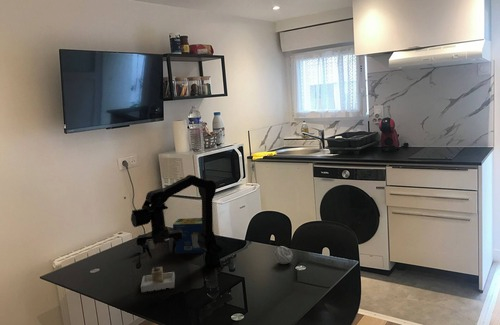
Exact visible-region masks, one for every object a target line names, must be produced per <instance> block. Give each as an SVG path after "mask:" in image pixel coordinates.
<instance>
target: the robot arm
mask: <svg viewBox="0 0 500 325" xmlns="http://www.w3.org/2000/svg"><path fill="white" fill-rule="evenodd" d="M191 186H193V187H196V188H197V189H198V194H199V196H200V198H201V218H202V232H201V234H198V242H197V243H199V246H200V247H201V248H202V249H203V251H205V253H204V265H205V266H206V268H207V269H209V268H217V267H220V266H222V263H221V257H220V254H221V253H222V250H223V247H221V246H220V245H218V244H217V239H216V235H215V233H214V230H213V227H214V226H213V224H214V222H213V217H214V216H213V199H214V197H215V195H216V191H217V184H216V183H215V181H214V180H210V179H205V178H204V179H203V178H200V177H198V176H196V175H193V174H188V175H186V176H184V177H183V178H181V179H179V180H177V181H175V182H173V183H171V184H169V185H167V186H166V187H162V188H157V189H154V190H150V191H148V192H147V193H146V195H145V200H144V202H143V204H142V206H141V208H139V209H132V210H131V216H130V220H131V225H132V227H134V228H137V227H140V226H144V225H148V224H149V223H150V225H151V226H150V227H151V232H150V234H152V236H147V233H144V234H139V235H138V236H137V238H136V245H137V246H138V245H140V246H141V247H144V248H145V249H146V250H147V254H148V255H149V257H150V259H153V254H152V249H150V245H149V241H152V240H153V243H154V244H163V243H165V242H166V240H168V239H171V238H172V256H174V255H175V253H176V250H175V247H176V243H177V242H178V241H180V239H183V235H182V230H181V229H179V230H173V229H172V232H170V231H169V229H167V227H166V221H165V213H164V210H167V209H169V207H168V206H166V205H165V203H166V202H167V201H168V200H169V198H171V197H172V196H174V195H176V194H177V193H181V191H184V190H185V189H187V188H189V187H191Z"/></svg>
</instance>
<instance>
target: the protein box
mask: <svg viewBox="0 0 500 325" xmlns="http://www.w3.org/2000/svg"><path fill="white" fill-rule="evenodd" d="M179 229H181V230H182V235H183V239H180V241H178V242H177V243H176V247H175V254H176V255H177V254H182V255H183V254H205V251H203V249H202V248H201V247H200V246H199V243H197V242H198V234H201V232H202V217H190V218H178V219H177V220H176V221H175V222H174V223H173V224H172V231H173V230H179Z"/></svg>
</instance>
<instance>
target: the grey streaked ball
mask: <svg viewBox="0 0 500 325" xmlns="http://www.w3.org/2000/svg"><path fill="white" fill-rule="evenodd" d="M293 255H294V254H293V252H292V250H291V249H290V248H288V247H286V246H282V245H280V246H279V247H277V248H276V249H275V252H274V257H275V259H276V261H277V262H278V264H282V265H286V264H290V263H291V261H292V260H293Z"/></svg>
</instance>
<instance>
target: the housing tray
mask: <svg viewBox="0 0 500 325" xmlns="http://www.w3.org/2000/svg"><path fill="white" fill-rule="evenodd" d="M163 277H164V283H158V284H153V280H152V274H148V275H143V276H142V280H141V284H140V290H141V292H140V293H146V292H147V291H148V292H153V291H154V290H155V291H161V289H162V290H167V289H166V288H169V289H175V285H176V284H175V282H176V280H175V279H176V275H175V271H171V272H163ZM148 292H147V293H148Z"/></svg>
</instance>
